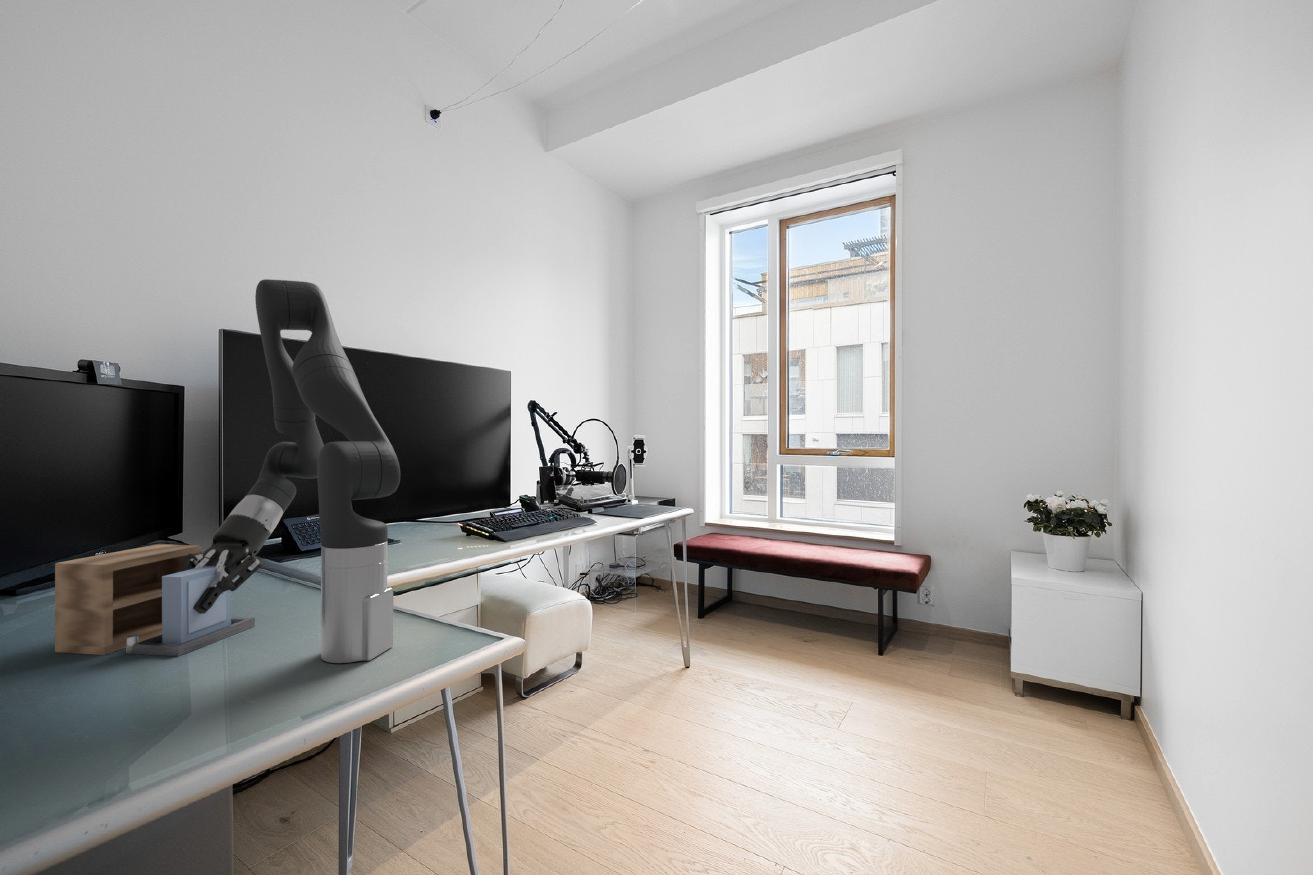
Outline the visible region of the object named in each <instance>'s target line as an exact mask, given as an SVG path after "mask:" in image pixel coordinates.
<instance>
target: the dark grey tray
mask: <svg viewBox="0 0 1313 875" xmlns="http://www.w3.org/2000/svg"><path fill="white" fill-rule="evenodd" d="M255 625H256V624H255V617H241V616H231V625H229V626H226V627H223V628H221V629H218V630H215V631H213V632H210V633H207V634H205V635H202V636H199V637H197V638H194V639H191V640H189V641H186V642H183V643H181V644H170V643H162V635H159V636H156V637H153V638H150V639H147V640H144V641H141V642H138V635H131V636H128V637H126V648H125V651H126V655H131V654H133V655H147V656H148V655H149V656H167V657H169V656H170V657H180V656H183V655H186V654H188V653H190V652H193V651H195V650H198V649H200V648H203V647H205V646H209V645H211V644H213V643H216V642H219V641H222V640H224V639H226V638H228V637H231V636H234V635H236V634H239V633H242V632H244V631H246V630H250V629H251V628H253V627H255Z"/></svg>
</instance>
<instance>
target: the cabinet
mask: <svg viewBox="0 0 1313 875" xmlns="http://www.w3.org/2000/svg"><path fill="white" fill-rule="evenodd" d="M201 548H202V547H201V545H197V544H196V545H195V544H194V545H193V544H166V543H165V544H162V543H158V544H157V543H156V544H152V545H146V546H141V547H136V548H131V549H124V550H120V551H115V552H114V551H113V552H108V553H103V554H98V555H93V556H88V557H82V558H75V559H71V560H66V561H60V562H55V563H54V584H55V585H54V595H55V596H54V611H55V612H54V653H64V654H65V653H66V654H67V653H69V654H83V655H99V656H100V655H101V656H103V655H104V656H105V655H108V654H111V653H114V652H117V651H119V650H122V649H126V637H128V636H131V635H138V642H141V641H144V640H147V639H150V638H153V637H156V636H159V635H162V576H166V575H170V574H174V573H178V572H180V569H181V567H182V564H183V561H184V559H185V557H186V555H188V554H190V553H192V554H193V555H194V556H197V555H201V554H202V553H201V552H202V551H201V550H202V549H201Z"/></svg>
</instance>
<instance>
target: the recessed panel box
mask: <svg viewBox="0 0 1313 875" xmlns="http://www.w3.org/2000/svg"><path fill="white" fill-rule="evenodd" d="M216 569H217V568H216V567H213V566H206V567H198V568H194V569H190V570H186V571H182V572H178V573H174V574H170V575H166V576H162V643H170V644H181V643H183V642H186V641H189V640H191V639H194V638H197V637H199V636H202V635H205V634H207V633H210V632H213V631H215V630H218V629H221V628H223V627H226V626H229V625H231V617H232V591H230V590H228V591H226V592H225V593H223V594H220V595H219V597H218V598H217V600H216V601H215V603H214V604H213V605H212V607H211V608H210V609H209V610H207V612H206V613H205V614H200V613H198V612H197V611H196V610H194V608H193V607H194V605H195V604H196V602H197V601H198V600H199V598H200V597H201V595H202V594H203V593H204V591H205V590H206V589H207V588H210V583H211V581H212V579H213V578H214V577H215V575H214V572H215V570H216ZM221 581H222V580H221Z"/></svg>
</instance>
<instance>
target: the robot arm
mask: <svg viewBox="0 0 1313 875" xmlns="http://www.w3.org/2000/svg"><path fill="white" fill-rule="evenodd" d="M254 301H255V310H256V317H257V322H258V328H259V332H260V337H261V342H262V343H261V344H262V347H263V348H262V349H263V352H264V357H265V362H266V366H267V371H268V375H269V380H270V386H271V393H272V405H273V422H274V426H275V429H276V431H277V432H278V433H279V434H283V435H285V436H287V437H289V438H291V439H292V440H293V441H294V442H292V441H281V442H277V443H276V444H275V445H273V446H272V447H271V448H270V449H269V450H268V452H267V453H266V456H265V458H264V461H263V464H262V467H261V470H260V473H259V476H258V478H257V480H256V482H255V484H253V486H252V487H251V489H250V490H249V491H248V492H247V494H246V495H245V496H244V498H242V499H241V500H240V501H239V502H238V503H237V504H236V506H235V507H234V508H233V509H232V510H231V512H230V513H229V515H228V516H227V517H226V518H225V519H224V521H223V522H222V523H221V524H220V526H219V528H218V529H217V530H216V531H215V532H214V534H213V535H212V544H211V545H210V546H209V547H208V548H207V549H206V550H204V551H203V553H201V555H197V556H194V555H193V554H192V553H190V554H188V555H186V557H185V559H184V561H183V564H182V567H181V569H180V572H182V571H186V570H190V569H194V568H198V567H206V566H213V567H216V568H217V569H216V570H215V572H214V575H215V577H214V578H213V579H212V581H211V583H210V588H207V589H206V590H205V591H204V593H203V594H202V595H201V597H200V598H199V600H198V601H197V602H196V604H195V605H194V607H193V608H194V610H196V611H197V612H198V613H200V614H205V613H206V612H207V610H209V609H210V608H211V607H212V605H213V604H214V603H215V601H216V600H217V598H218V597H219V595H220V594H223V593H225V592H226V591H228V590H230V591H231V592H235V591H236V590H238V588H240V586H242V585H243V584H244V583H246V581H247V580H248V579H249V578H250V577H251V576H252V575H253V574H255V573H256V571H258V570H259V569H260V568H261V567H262V565H263V564H262V563H261V561H260V560H259V559H257V557H255V556H256V555H258V553H259V552H260V550H261V549H263V546H264V545H265V543H266V541H267V540H268V539H269V537H270V536H271V534H272V533H273V532H274V530H275V529H276V528H277V525H278V524H279V522H280V520H281V518H282V517H283V514H284V513H285V511H286V510H287V509H288V507H289V506H290V504H291V503H292V502H293V501H294V498H295V496H296V495H297V487H296V484H294V483H293V482H292V481H291V480H289V479H288V478H286V477H291V478H299V479H306V480H307V479H308V480H314V479H316V480H317V494H318V510H319V511H318V518H319V531H320V539H321V540H320V545H321V547H320V551H321V552H320V554H321V555H320V559H321V560H320V563H321V564H320V658H321V660H322V661H324V662H326V663H331V664H346V663H353V662H359V661H371V660H373V659H374V658H376V657H378V656H379V655H381V654H383V653H384V652H386V651H387V650H390V649H391V648H392V647H394V588H392V587H388V545H389V544H388V537H389V536H388V532H389V531H388V526H387V524H386V522H385V523H384V522H383V521H379V520H376V519H371V518H367V517H364V516H361V515H360V514H358V513H356V512H355V511H354V509H353V505H352V504H353V503H352V501H358V500H368V499H371V500H372V499H381V498H384V497H389V496H391V495H393V494H394V493H395V492H396V491H397V490H398V488H399V485H400V483H401V467H400V462H399V459H398V456H397V453H396V452H395V448H394V446H393V445H392V444H391V442H390V440H389V438H388V437H387V435H386V433H385V431H384V430H383V428H382V427H381V424H379V422H378V420H377V419H376V417H375V416H374V413H373V412H372V410H371V407H370V406H369V404H368V402H367V399H366V398H365V394H364V393H363V390H362V388H361V385H360V383H359V379H358V377H357V375H356V373H355V370H354V369H353V365H352V363H351V362H350V360H349V358H348V356H347V354H346V353H345V352H346V351H345V350H344V348H343V346H342V344H341V341H340V339H339V338H340V337H339V336H338V334H337V332H336V331H337V330H336V328H335V325H334V320H333V319H332V316H331V311H330V308H329V306H328V302H327V300H326V297H325V295H324V292H323V291H322V289H321V288H320V287H319V286H318V285H317V284H315V283H313V282H308V281H299V280H285V279H261V280H259V282H258V283H257V284H256V288H255V300H254ZM281 331H308V332H310V333H311V334H310V337H309V338H308V339H307V341H306V342H305V344H304V345H303V346H302V347H301V349H300V350H299V352H297V355H296V356H295V358H294V360H293V359H292V358H291V356H290V355H289V353H288V352H287V350H286V348H285V346H284V343H283V340H282V334H281ZM316 416H317V417H319V419H321V420H322V421H324V422H325V423H327V424H328V425H330V426H332V427H333V428H334V429H336V431H338V432H340V433H341V434H342V435H343V436H345V438H347V440H348V441H347V440H346V441H330V442H327V443H325V444H324V442H323V439H322V437H321V434H320V431H319V429H318V425H317V422H316ZM237 577H238V578H237ZM236 578H237V579H236ZM235 579H236V580H235ZM221 580H222V581H221ZM234 580H235V581H234Z"/></svg>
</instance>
